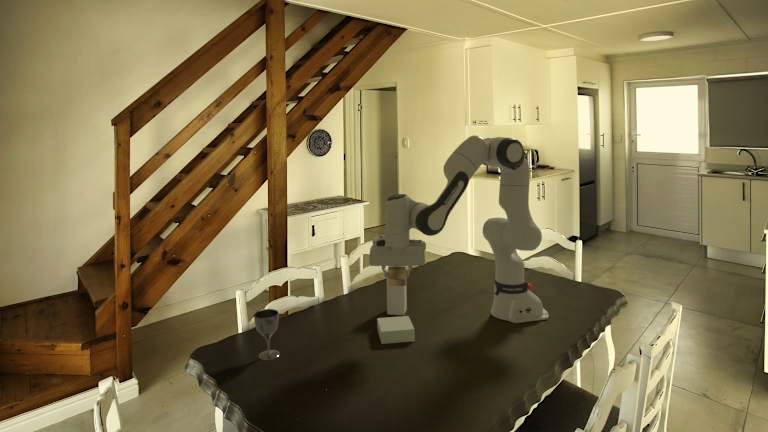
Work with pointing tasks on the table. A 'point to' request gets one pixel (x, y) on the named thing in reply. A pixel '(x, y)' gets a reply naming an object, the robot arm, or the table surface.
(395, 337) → the sage block
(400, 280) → the oak cube
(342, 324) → the table surface
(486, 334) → the table surface
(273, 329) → the wine glass
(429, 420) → the table surface
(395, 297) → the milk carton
